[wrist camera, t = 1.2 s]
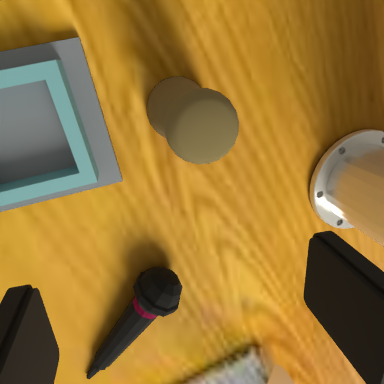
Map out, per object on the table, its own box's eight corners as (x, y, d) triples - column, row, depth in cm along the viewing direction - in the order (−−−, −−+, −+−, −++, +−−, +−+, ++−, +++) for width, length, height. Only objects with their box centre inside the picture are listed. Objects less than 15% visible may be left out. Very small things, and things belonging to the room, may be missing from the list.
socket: (79, 37, 25) (74, 34, 22) (122, 178, 31) (122, 190, 28) (-101, 71, 24) (-133, 72, 21) (-22, 214, 29) (-38, 231, 26)
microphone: (103, 354, 44) (180, 259, 37) (111, 397, 40) (199, 298, 33) (66, 357, 40) (143, 252, 34) (70, 404, 36) (159, 295, 30)
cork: (219, 108, 30) (269, 129, 20) (178, 151, 31) (206, 192, 21) (177, 61, 28) (210, 60, 18) (133, 110, 29) (141, 134, 19)
